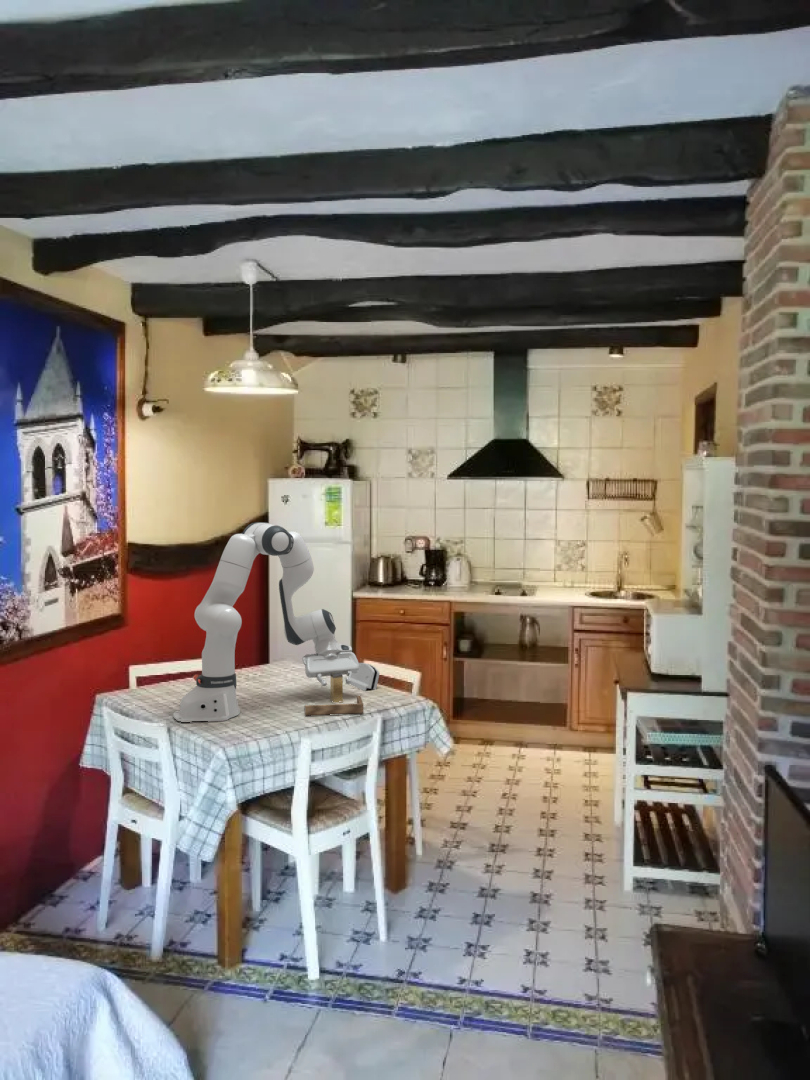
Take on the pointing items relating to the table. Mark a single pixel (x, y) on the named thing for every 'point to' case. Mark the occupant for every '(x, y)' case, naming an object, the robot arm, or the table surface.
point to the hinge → (365, 677)
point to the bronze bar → (336, 687)
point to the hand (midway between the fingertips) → (336, 684)
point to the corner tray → (335, 708)
